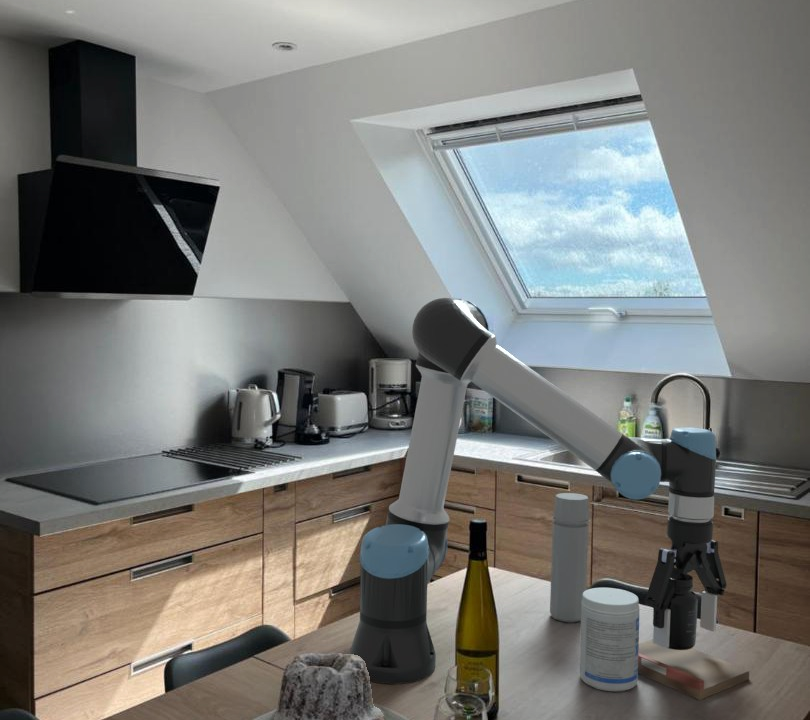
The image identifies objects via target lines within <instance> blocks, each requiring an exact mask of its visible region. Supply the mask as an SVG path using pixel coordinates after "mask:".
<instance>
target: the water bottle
mask: <svg viewBox="0 0 810 720" xmlns="http://www.w3.org/2000/svg"><path fill="white" fill-rule="evenodd" d="M589 502H590V500H589V497H588V495H585V494H581V493H576V492H575V493H574V492H562V493H561V492H560V493H557V494H555V499H554V505H553V506H554V507H553V514H552V517H550V519H551V520H553V521H552V532H551V533H552V534H551V536H552V538H551V540H552V541H551V563H550V564H551V567H550V568H551V569H550V595H549V597H550V599H549V601H550V602H549V613H550V615H551V617H552V618H553V619H555V620H557V621H559V622H564V623H577V622H581V604H582V596H583V592H584V591H586V590H587V584H588V583H587V581H588V580H587V578H588V575H587V574H588V553H589V552H588V550H589V524H588V523H591V522H592V521H591V519H590V517H591V515H590V503H589Z"/></svg>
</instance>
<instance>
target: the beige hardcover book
mask: <svg viewBox="0 0 810 720" xmlns="http://www.w3.org/2000/svg"><path fill="white" fill-rule="evenodd" d="M638 674H640V675H642V676H645V677H646V678H649V679H650V680H653V681H656V682H658V683H660V684H662V685H665V686H667V687H669V688H672V689H674V690H676V691H678V692H681V693H682V694H684V695H687V696H689V697H692V698H694V699H697V701H701V700H703V699H705V698H708V697H710V696H712V695H715V694H717V693H720V692H722V691H724V690H727V689H729V688H732V687H734V686H736V685H739V684H742V683H744V682H746V681H748V680H750V670H748V669H745V668H743V667H740V666H738V665H736V664H733V663H730V662H728V661H725V660H724V659H720V658H718V657H715V656H713V655H711V654H710V655H709V654H708V653H705V652H703V651H701V650H697V649H695V648H691V649H688V650H674V649H669V648H665V647H662V646H660V645H657V644H655V643H653V639H650V640H647V641H644V642H641V643H639V651H638Z"/></svg>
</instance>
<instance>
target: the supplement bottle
mask: <svg viewBox="0 0 810 720" xmlns="http://www.w3.org/2000/svg"><path fill="white" fill-rule="evenodd" d="M669 581H670V582H672V581H673V582H674V581H676V583H675V590H676V591H675V593H674V595H673V597H672V599H671V601H670V603H669V605H668V607H667V609H670V610H671V612H670V636H669V647H668V648H669V649H674V650H688V649H691V648H692V649H694V647H695V645H696V640H697V639H696V638H697V626H698V625H697V624H698V623H697V622H698V609H699V608H698V604H699V603H698V602H699V599H698V596H697V594H696V593H695V592H694V590H693V589H694V585H693V581H694V578H693V576H692V575H690V574H688V573H687V575H686V576H685V577H682V578H679V579H674V578H671V577H670V579H669ZM662 602H663V601H662Z"/></svg>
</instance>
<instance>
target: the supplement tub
mask: <svg viewBox="0 0 810 720" xmlns="http://www.w3.org/2000/svg"><path fill="white" fill-rule="evenodd" d="M639 604H640V601H639V597H638V595H636V594H635V593H633V592H630V591H628V590H625V589H621V588H614V587H593V588H589V589H586V591H584V592H583V596H582V604H581V621H580V648H579V649H580V650H579V651H580V652H579V653H580V654H579V656H580V657H579V658H580V659H579V675H580V678H581V680H582V681H583V683H586V684H587V686H590V687H593V688H594V689H596V690H599V691H605V692H606V691H607V692H625V691H628V690H631V689H633V688H634V687H635V686H636V685H637V683H638V680H639V673H638V651H639V644H640V643H639V642H640V641H639V639H640V605H639Z"/></svg>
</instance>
